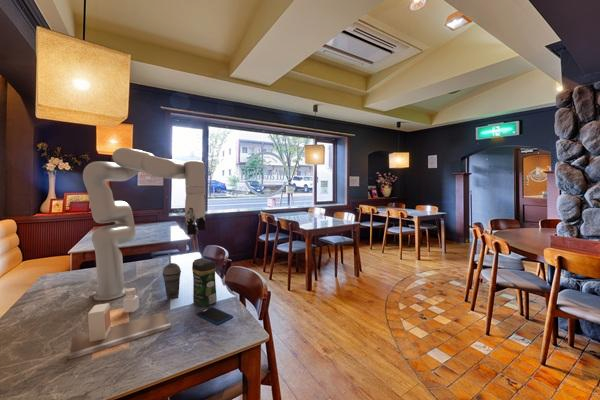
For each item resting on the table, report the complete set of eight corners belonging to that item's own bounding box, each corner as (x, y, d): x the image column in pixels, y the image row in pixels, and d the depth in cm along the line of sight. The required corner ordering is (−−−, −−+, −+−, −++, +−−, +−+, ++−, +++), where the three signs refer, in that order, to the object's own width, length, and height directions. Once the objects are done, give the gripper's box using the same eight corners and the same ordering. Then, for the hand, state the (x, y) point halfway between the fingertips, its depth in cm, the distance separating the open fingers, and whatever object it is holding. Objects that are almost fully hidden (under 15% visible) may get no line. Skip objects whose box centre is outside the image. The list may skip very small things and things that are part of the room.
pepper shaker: (129, 310, 103) (128, 287, 102) (139, 310, 103) (138, 287, 102) (123, 316, 99) (122, 291, 98) (134, 315, 99) (133, 291, 98)
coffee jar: (190, 302, 109) (188, 259, 108) (206, 296, 116) (205, 255, 114) (203, 309, 103) (201, 263, 102) (219, 302, 110) (218, 259, 109)
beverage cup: (174, 302, 109) (172, 256, 108) (159, 301, 111) (157, 255, 109) (185, 295, 116) (183, 251, 115) (171, 294, 118) (169, 251, 117)
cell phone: (211, 307, 106) (211, 306, 105) (234, 318, 97) (234, 316, 97) (195, 315, 100) (195, 313, 100) (217, 326, 91) (217, 324, 91)
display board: (69, 364, 72) (68, 356, 72) (73, 341, 82) (72, 334, 82) (171, 331, 88) (171, 324, 88) (163, 316, 98) (163, 309, 98)
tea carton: (89, 341, 80) (87, 313, 79) (96, 331, 86) (94, 305, 85) (105, 338, 82) (104, 310, 81) (111, 328, 87) (109, 302, 87)
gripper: (195, 190, 115) (196, 228, 116) (176, 191, 98) (177, 236, 99) (212, 190, 115) (213, 228, 116) (196, 191, 98) (197, 236, 99)
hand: (196, 232), depth 108 cm, fingers open, 9 cm apart
